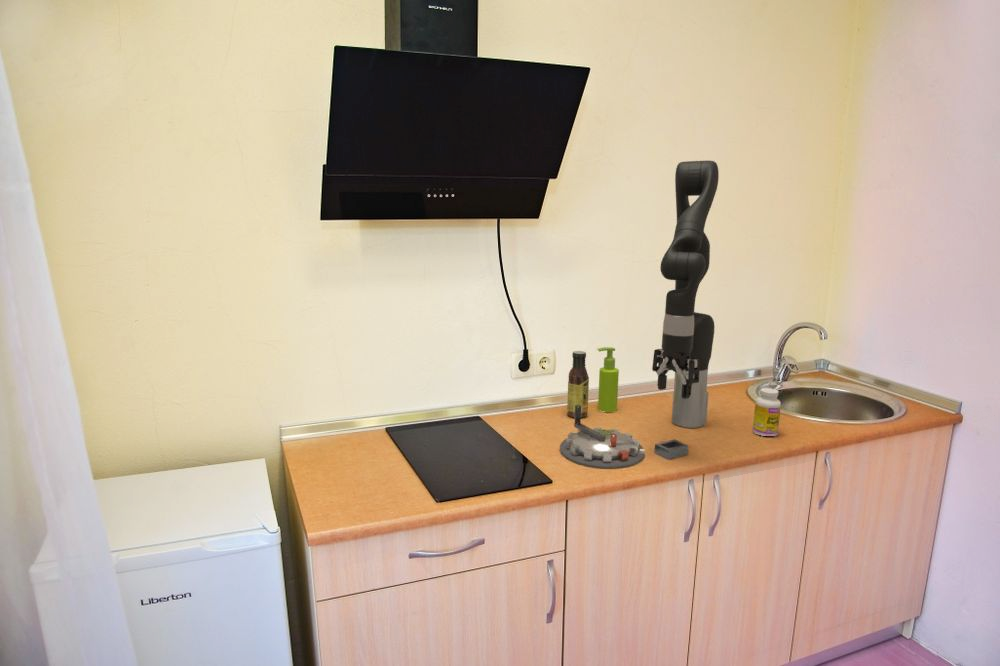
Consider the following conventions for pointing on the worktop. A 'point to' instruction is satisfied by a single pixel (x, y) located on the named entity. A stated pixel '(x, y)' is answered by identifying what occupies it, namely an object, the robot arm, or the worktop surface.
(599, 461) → the sprocket base
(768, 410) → the supplement bottle
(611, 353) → the soap dispenser
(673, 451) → the chain link
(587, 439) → the sprocket
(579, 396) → the sauce bottle
